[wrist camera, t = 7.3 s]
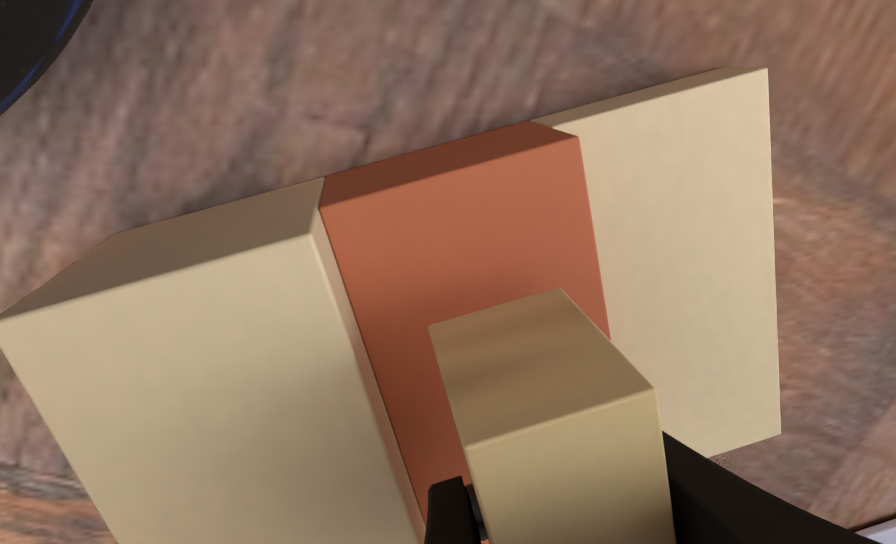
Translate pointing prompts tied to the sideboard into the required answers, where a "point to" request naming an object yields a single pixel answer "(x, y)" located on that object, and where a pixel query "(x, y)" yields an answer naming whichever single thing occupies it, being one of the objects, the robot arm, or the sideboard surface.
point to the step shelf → (405, 316)
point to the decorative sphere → (33, 41)
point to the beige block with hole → (553, 427)
